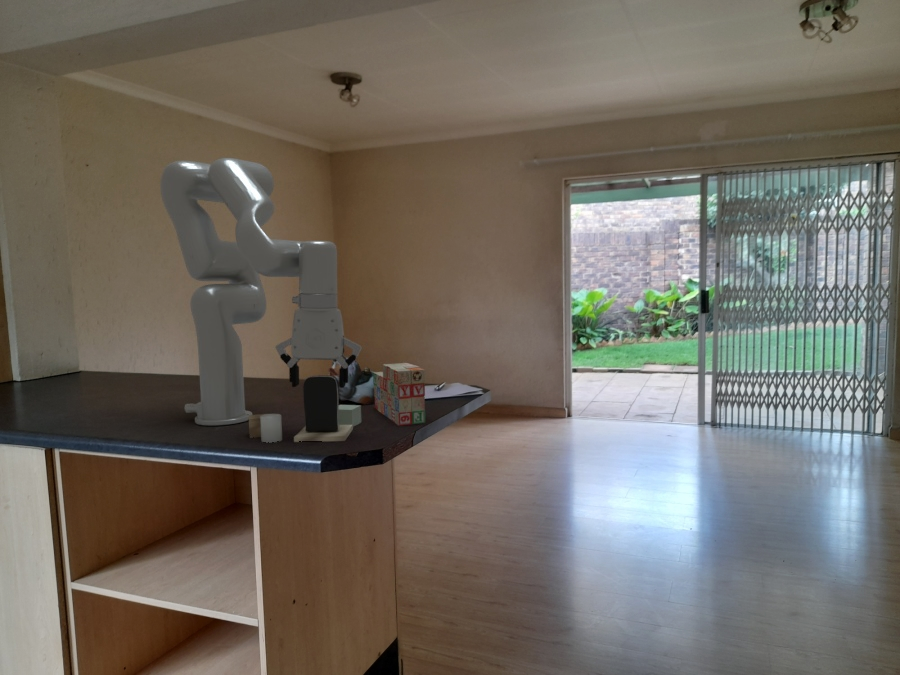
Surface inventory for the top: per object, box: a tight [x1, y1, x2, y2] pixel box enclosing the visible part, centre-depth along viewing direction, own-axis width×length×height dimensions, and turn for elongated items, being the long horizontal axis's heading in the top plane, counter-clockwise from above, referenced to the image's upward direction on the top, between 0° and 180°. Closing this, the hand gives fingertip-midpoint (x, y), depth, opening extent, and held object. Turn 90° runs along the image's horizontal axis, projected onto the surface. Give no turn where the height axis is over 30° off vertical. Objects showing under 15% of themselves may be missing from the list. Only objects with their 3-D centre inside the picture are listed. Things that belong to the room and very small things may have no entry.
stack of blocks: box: [373, 362, 426, 427], centre depth 144 cm, size 21×6×12 cm, turn 22°
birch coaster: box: [293, 425, 354, 443], centre depth 126 cm, size 10×10×1 cm
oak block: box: [248, 413, 267, 439], centre depth 128 cm, size 4×4×4 cm
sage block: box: [338, 404, 362, 428], centre depth 136 cm, size 5×5×4 cm
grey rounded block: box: [260, 413, 283, 444], centre depth 123 cm, size 4×4×5 cm
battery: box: [302, 374, 340, 432], centre depth 126 cm, size 7×4×11 cm, turn 89°
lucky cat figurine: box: [327, 356, 375, 406], centre depth 163 cm, size 15×12×14 cm
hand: (319, 386), depth 126 cm, fingers open, 9 cm apart
